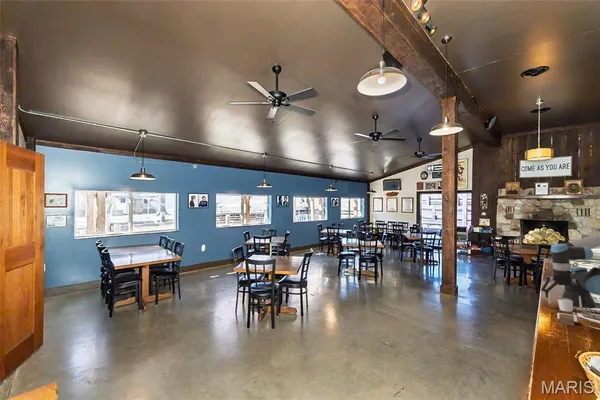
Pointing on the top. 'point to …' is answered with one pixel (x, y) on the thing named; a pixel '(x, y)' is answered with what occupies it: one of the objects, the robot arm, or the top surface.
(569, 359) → the top surface
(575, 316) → the board
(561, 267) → the robot arm
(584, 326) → the top surface
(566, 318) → the housing
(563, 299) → the white cup
